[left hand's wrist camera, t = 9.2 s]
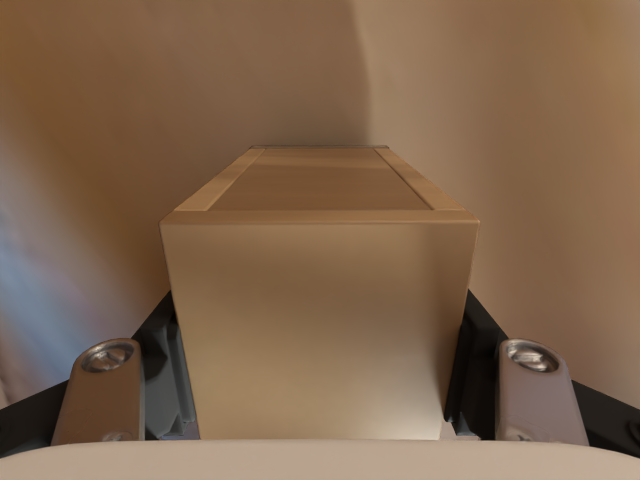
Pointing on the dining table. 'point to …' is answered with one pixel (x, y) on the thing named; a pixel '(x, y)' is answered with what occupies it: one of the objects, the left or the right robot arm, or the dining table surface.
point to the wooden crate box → (319, 295)
